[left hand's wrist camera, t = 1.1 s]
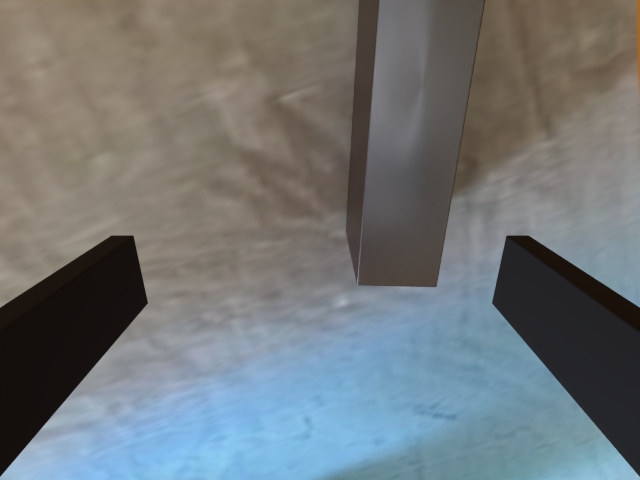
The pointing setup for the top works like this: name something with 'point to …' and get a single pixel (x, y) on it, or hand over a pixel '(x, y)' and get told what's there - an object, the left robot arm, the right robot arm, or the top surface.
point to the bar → (407, 134)
